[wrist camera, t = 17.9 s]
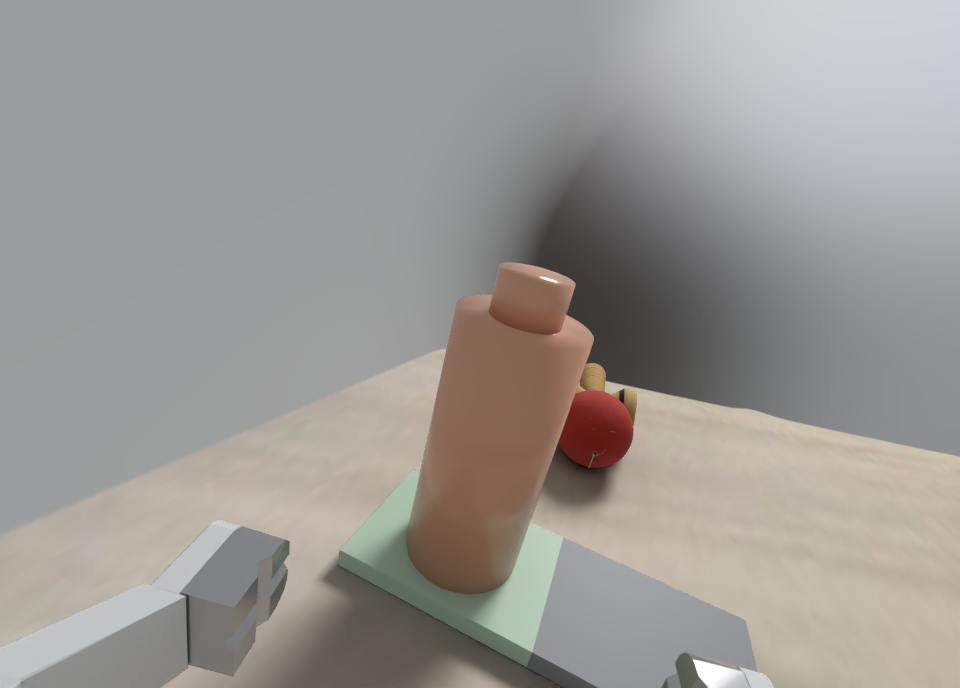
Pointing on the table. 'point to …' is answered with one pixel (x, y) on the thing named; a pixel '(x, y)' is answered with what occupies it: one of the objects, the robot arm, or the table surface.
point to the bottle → (495, 427)
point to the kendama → (598, 421)
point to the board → (556, 607)
